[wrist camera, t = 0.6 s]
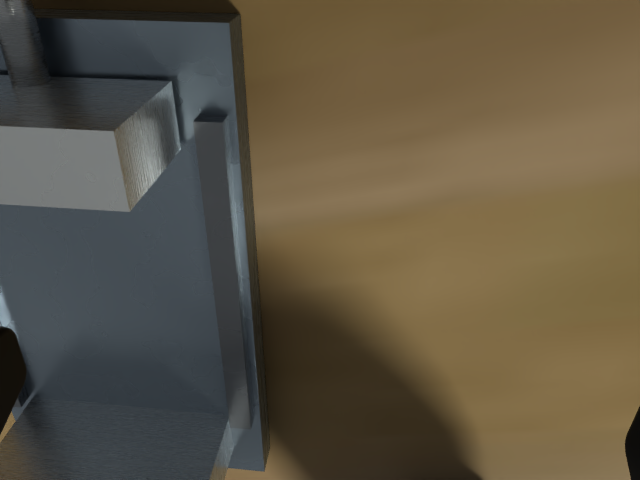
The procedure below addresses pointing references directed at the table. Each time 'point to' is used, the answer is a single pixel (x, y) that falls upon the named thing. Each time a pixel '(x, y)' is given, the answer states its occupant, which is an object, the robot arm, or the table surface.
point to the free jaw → (76, 128)
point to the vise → (143, 277)
